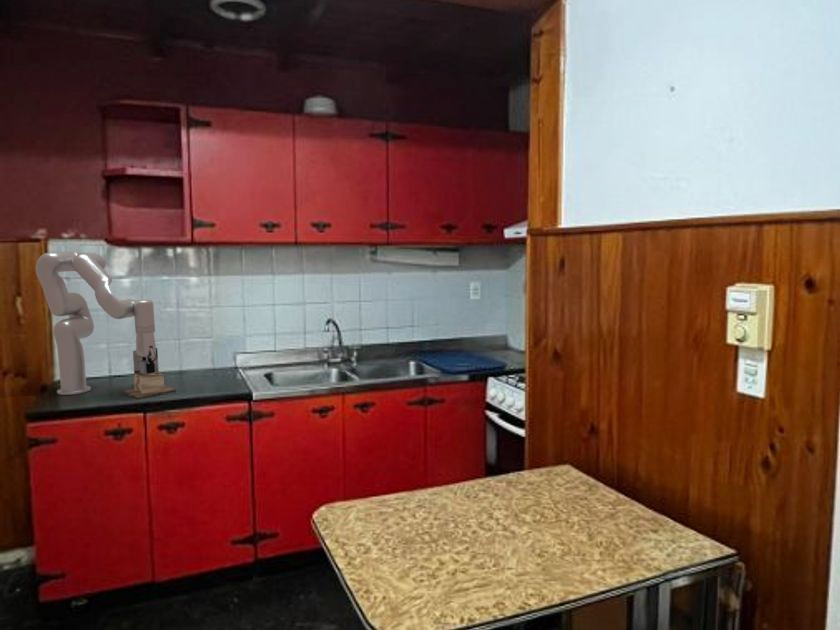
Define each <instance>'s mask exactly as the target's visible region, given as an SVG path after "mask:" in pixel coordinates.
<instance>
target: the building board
mask: <svg viewBox="0 0 840 630" xmlns="http://www.w3.org/2000/svg"><path fill="white" fill-rule="evenodd" d="M133 375H134V376H133V386H134V388H128V389H123V390H122V392H124V393H123V394H125V393H126V395H127V394H128V395H127V396H129V395H130V397H131V396H133V397H132V398H134V397H135V398H134V399H136V398H140V399H143V398H142V397H146V398H149V397H148V396H151V397H154V396H153V395H157V394H162V395H164V394H163V393H168V394H170V393H169V392H173V393H176V392H177V390H176V388H172V387H170V386H168V385H165V379H164V378H165V377H164V375H163V373H162V372H160V371H159V372H156V373H150V374H142V373H138V374H134V373H133ZM175 391H176V392H175ZM157 396H158V395H157Z"/></svg>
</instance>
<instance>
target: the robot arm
mask: <svg viewBox="0 0 840 630" xmlns="http://www.w3.org/2000/svg"><path fill="white" fill-rule="evenodd" d="M105 267H106V261H105V258H104V257H103V256H102V255H101V254H99V253H95V252H79V251H49V252H46V253H43V254H42V255H40V256H39V258H38V259H37V261H36V263H35V274H36V277H37V279H38V281H39V283H40V286H41V288H42V291H43V295H44V296H45V299H46V300H45V301H46V302H47V305H48V308H49V311H50V313H51V314H52V315H53V316H55V317H66V316H68V318H63V319H61V320H59V321H58V322H56V323H55V325H54V327H53V337H54V339H55V343H56V347H57V357H58V367H59V369H58V370H59V379H60V381H59V382H60V388H59V389H57V390H56V394H58V395H61V396H64V395H65V396H67V395H70V396H71V395H78V394H79V395H80V394H84V393H88V392H90V391H91V389H92V388H91V386H89V385H87V376H86V364H85V363H86V361H85V352H84V347H83V344H82V342H81V339H84V338H88V337H90V336H91V335H92V334H93V333H94V328H95V326H94V321H93V318H92V315H91V312H90V309H89V307H88V303H87V301H86V299H85V298H84V297H83V296H82V295H81V294H79V293H77V292H69V291H68V289H67V286H66V283H65V281H64V279H63V278H62V277H61V275H60V274H59V272H60V273H61V272H63V273H64V272H77V274H78V275H79V276H80V277H81V278H82V279H83V280H84V281H85V283H87V284H88V286H90V287H91V289H92V290H93V291H94V296H95V300H96V301H97V303H98V305H99V306H100V308H101V309H103V311H104V312H105V313H107V315H109V316H110V317H111V318H113V319H116V320H122V319H126V318H131V317H134V326H135V327H134V328H135V329H134V331H135V335H136V337H135V344H136V345H135V347H136V348H135V349H136V353H137V355H139V356H140V357H141V361H143V360H146V361H147V364H146V370H147V373H154V372H155V365H154V363H155V361H154V359H155V355H156V348H157V347H156V340H155V339H156V338H155V332H156V326H155V325H156V323H155V310H154V307H155V306H154V302H153V301H152V300H151V299H131V298H129V299H128V298H127V299H121V300H119V298H117V297H116V296H115V295H114V294H113V292H112V291H111V288H110V285H111V283H112V281H113V279H112V278H113V277H112V276H111V275H110V274H109V273H108V272H107V271H106V270H105ZM148 355H151V356H148ZM148 358H149V359H148Z"/></svg>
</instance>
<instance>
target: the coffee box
mask: <svg viewBox="0 0 840 630" xmlns="http://www.w3.org/2000/svg"><path fill="white" fill-rule="evenodd" d="M132 356H133V357H132V360H133V361H132V362H133V375H134V374H138V373H140V365H139V361H141V357H140V356H139V355H137V353H136V350H132ZM148 356H151V355H148ZM158 356H159V355H158V348H157V347H156V355H155V359H154V360H155V361H156V370H157V372H159V373H160V370H159V357H158ZM148 359H149V358H148Z"/></svg>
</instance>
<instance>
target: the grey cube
mask: <svg viewBox="0 0 840 630" xmlns="http://www.w3.org/2000/svg"><path fill="white" fill-rule="evenodd" d="M154 361H155V360H154ZM146 364H147V361H146V360H143V361H139V365H140V373H142V374H150V373H147V370H146ZM154 365H155V372H154V373H156V372H157V370H156V361H155V363H154Z"/></svg>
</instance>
